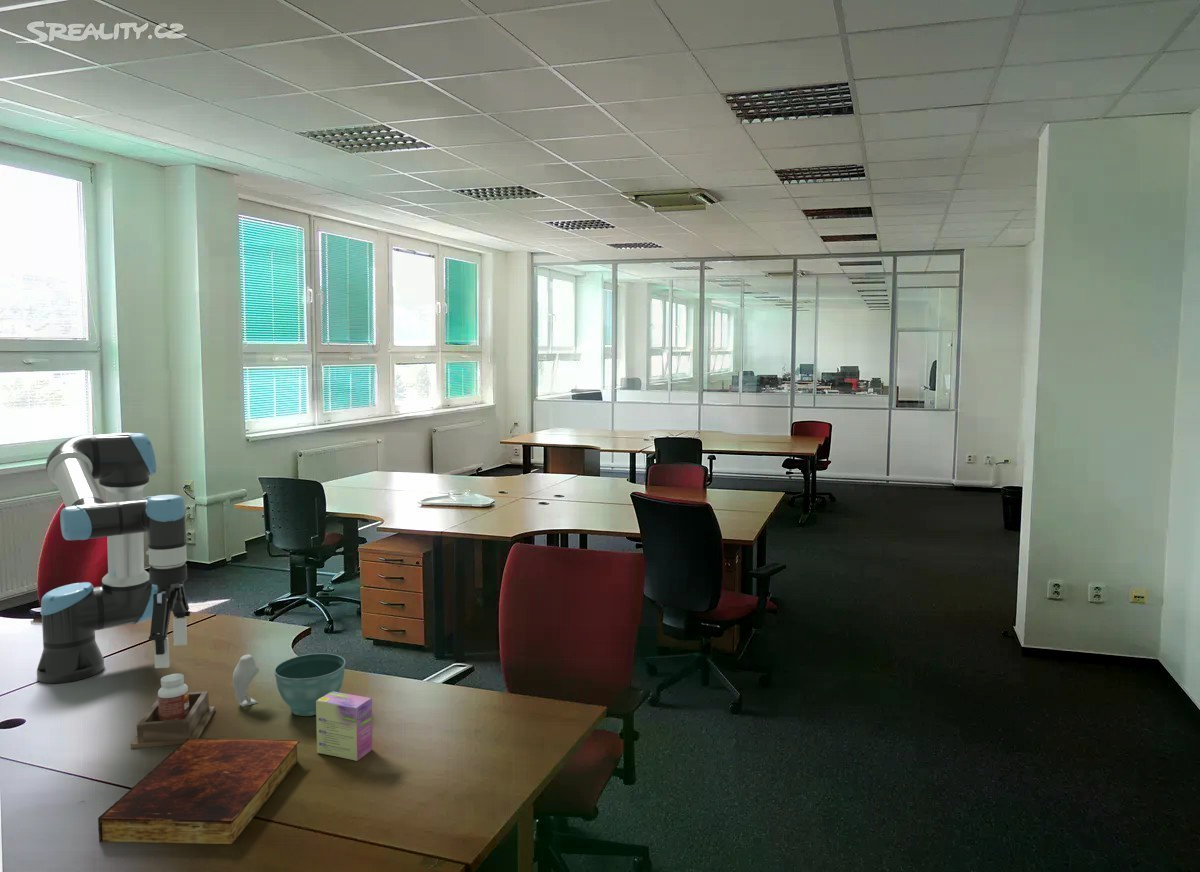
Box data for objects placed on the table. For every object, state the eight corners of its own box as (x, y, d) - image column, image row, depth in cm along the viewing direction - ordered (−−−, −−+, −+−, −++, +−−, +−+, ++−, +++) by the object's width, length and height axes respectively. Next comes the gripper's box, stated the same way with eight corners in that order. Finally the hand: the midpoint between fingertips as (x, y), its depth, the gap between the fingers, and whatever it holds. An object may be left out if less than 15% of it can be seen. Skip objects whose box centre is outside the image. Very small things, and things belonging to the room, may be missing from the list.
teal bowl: (277, 728, 184) (275, 682, 183) (274, 701, 199) (272, 658, 198) (350, 716, 191) (349, 671, 190) (342, 690, 206) (341, 649, 205)
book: (187, 760, 170) (187, 738, 170) (300, 762, 170) (300, 740, 169) (98, 845, 141) (96, 818, 140) (234, 847, 140) (233, 820, 140)
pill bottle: (191, 725, 183) (189, 678, 182) (160, 732, 180) (158, 684, 179) (188, 715, 188) (185, 669, 187) (158, 722, 185) (155, 675, 184)
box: (373, 749, 175) (372, 697, 174) (357, 761, 169) (356, 707, 168) (333, 741, 178) (332, 690, 177) (316, 753, 173) (315, 700, 172)
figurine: (228, 702, 198) (227, 655, 197) (250, 696, 202) (248, 649, 201) (242, 711, 193) (240, 663, 192) (263, 704, 197) (262, 657, 196)
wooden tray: (156, 714, 191) (155, 694, 190) (215, 710, 194) (214, 690, 193) (130, 748, 174) (129, 726, 174) (195, 742, 177) (194, 721, 177)
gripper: (167, 551, 192) (170, 637, 194) (129, 580, 167) (134, 678, 170) (201, 550, 193) (204, 635, 196) (169, 579, 169) (173, 676, 171)
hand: (171, 655), depth 183 cm, fingers open, 13 cm apart
